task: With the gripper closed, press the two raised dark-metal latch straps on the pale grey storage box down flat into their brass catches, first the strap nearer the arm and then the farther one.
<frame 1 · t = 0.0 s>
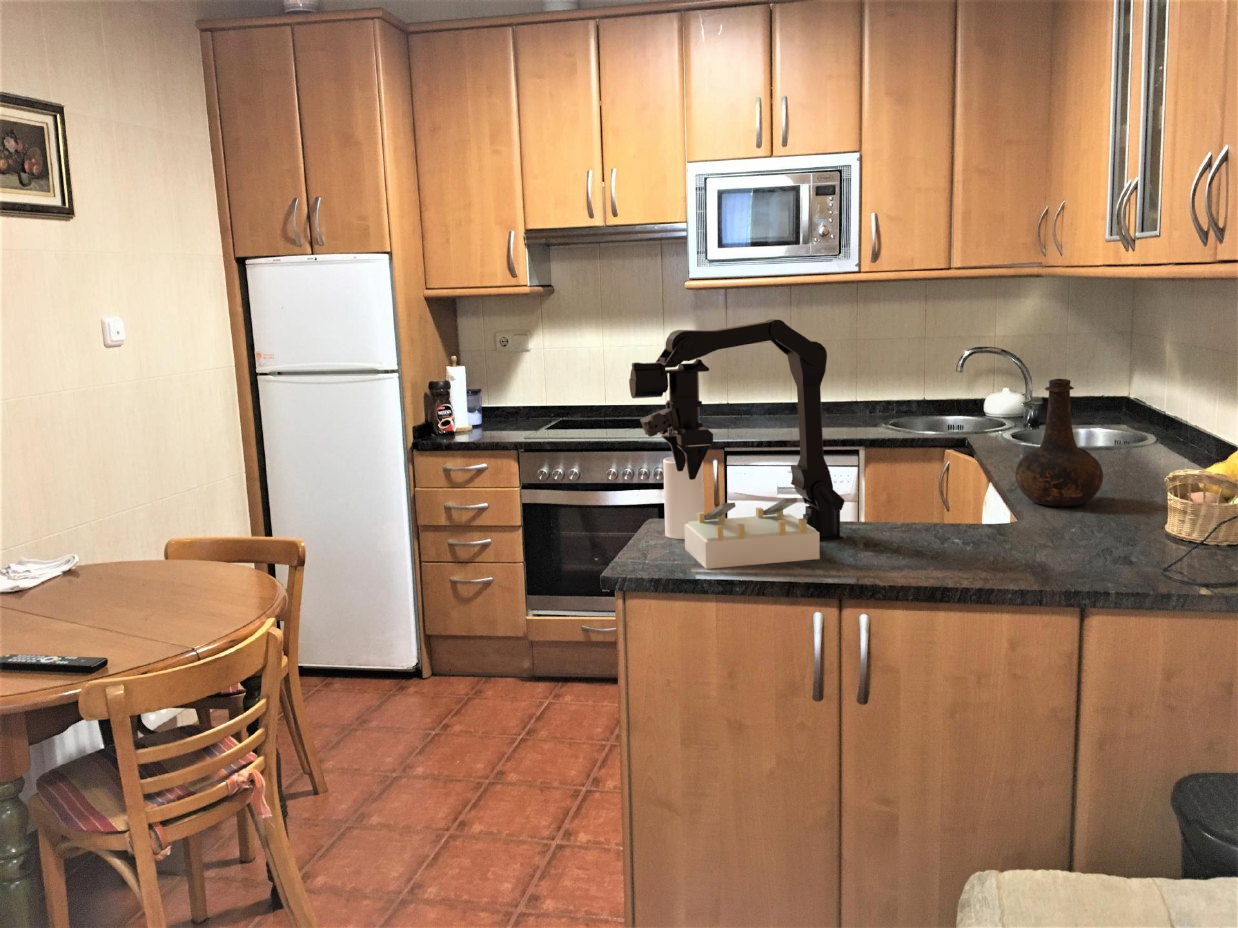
hand: (686, 475, 198), 15 cm above the worktop, fingers open, 9 cm apart
strap A: (779, 506, 195), point 9 cm above the worktop, hinge at 22.0°
storage box: (750, 553, 195), on the worktop
strap B: (719, 511, 193), point 9 cm above the worktop, hinge at 22.0°
cup: (684, 535, 212), on the worktop
glass bottle: (1057, 504, 229), on the worktop
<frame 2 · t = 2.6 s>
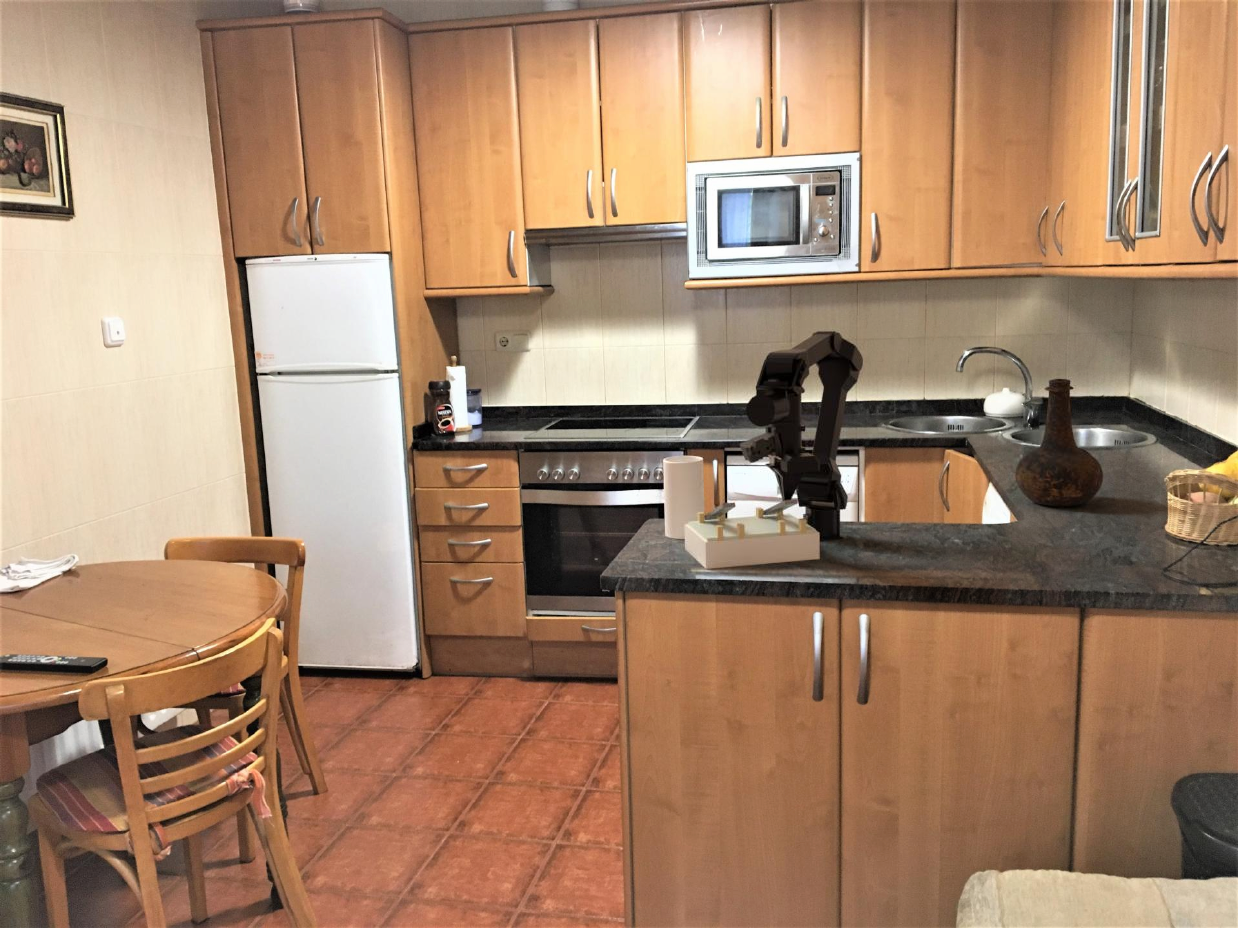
hand: (786, 502, 191), 10 cm above the worktop, fingers closed
strap A: (779, 507, 195), point 9 cm above the worktop, hinge at 20.7°, touching gripper
everything else where it was.
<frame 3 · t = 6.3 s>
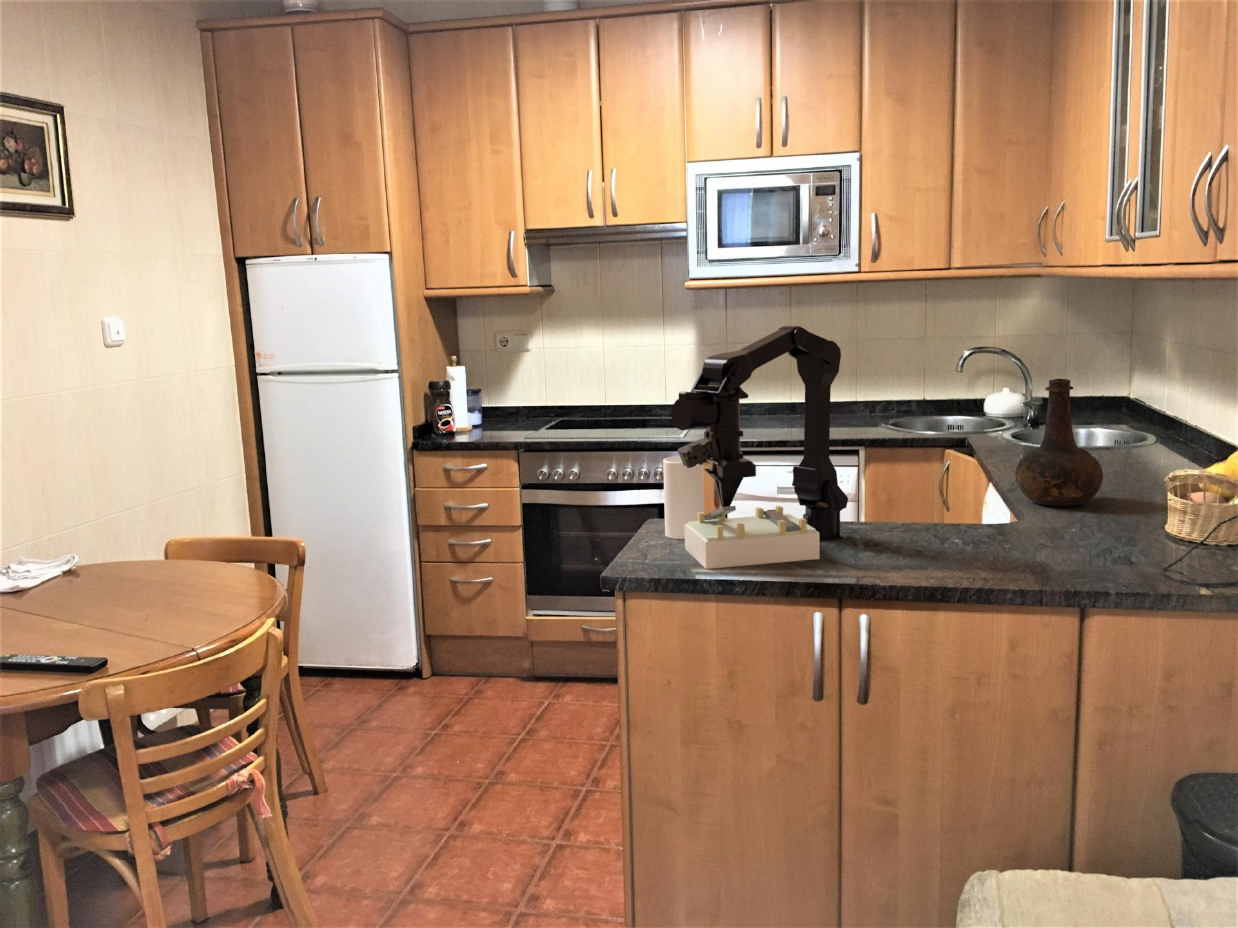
hand: (725, 507, 189), 10 cm above the worktop, fingers closed
strap A: (780, 519, 195), point 6 cm above the worktop, hinge at -1.3°
strap B: (719, 513, 193), point 8 cm above the worktop, hinge at 19.2°, touching gripper
everything else where it was.
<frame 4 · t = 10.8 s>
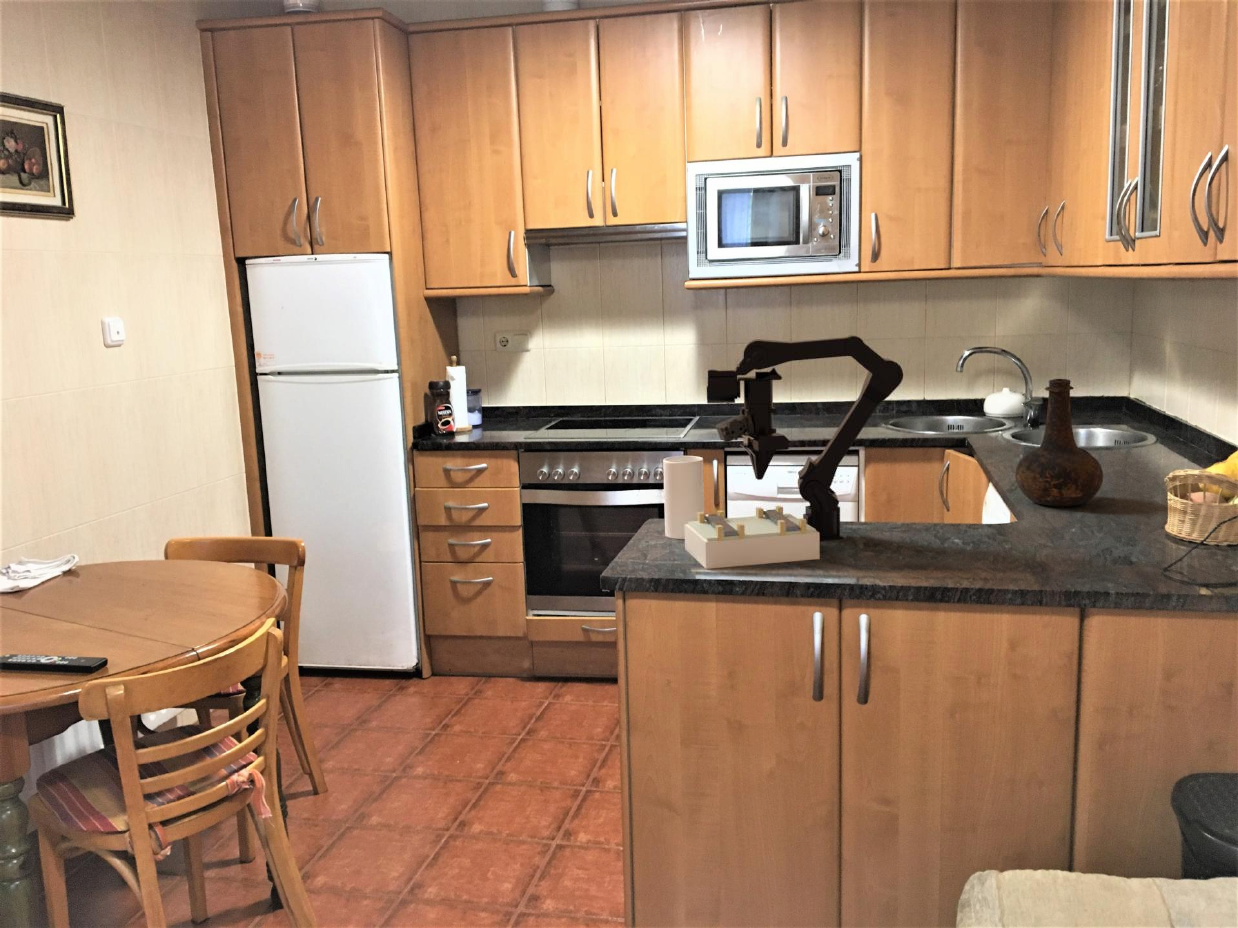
hand: (759, 479, 206), 12 cm above the worktop, fingers closed
strap B: (720, 524, 193), point 6 cm above the worktop, hinge at -1.2°
everything else where it was.
at the end: strap A at -1° (first picture: +22°); strap B at -1° (first picture: +22°) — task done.
